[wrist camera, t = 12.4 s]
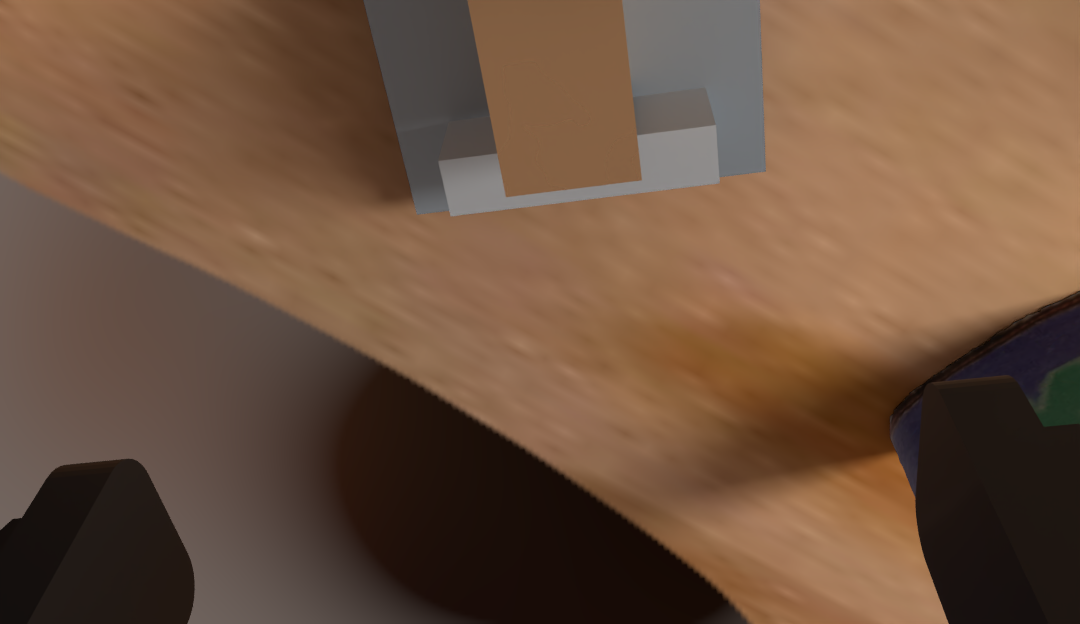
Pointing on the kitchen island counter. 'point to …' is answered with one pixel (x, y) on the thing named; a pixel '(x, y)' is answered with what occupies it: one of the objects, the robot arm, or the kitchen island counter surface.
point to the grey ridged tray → (657, 86)
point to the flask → (1011, 374)
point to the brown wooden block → (557, 92)
